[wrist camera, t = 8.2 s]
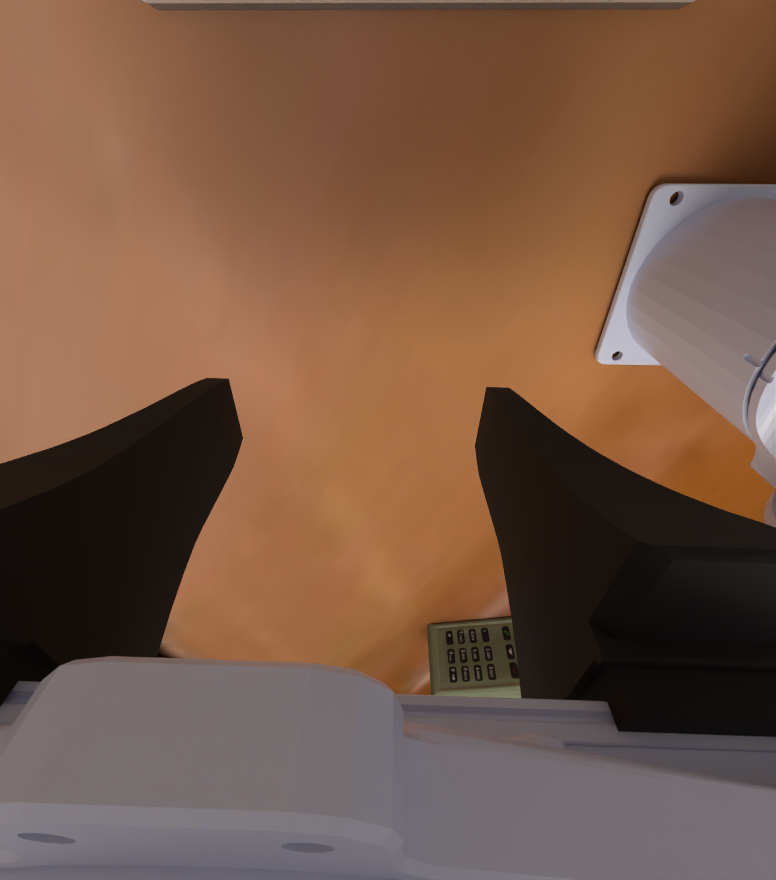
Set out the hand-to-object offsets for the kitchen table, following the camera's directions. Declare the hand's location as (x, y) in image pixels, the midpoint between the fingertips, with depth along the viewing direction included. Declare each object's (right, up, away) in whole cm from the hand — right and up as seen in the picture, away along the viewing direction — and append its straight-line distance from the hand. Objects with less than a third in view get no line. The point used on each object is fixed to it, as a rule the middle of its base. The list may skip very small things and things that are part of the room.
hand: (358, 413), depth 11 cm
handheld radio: (+17, -17, +26) cm, 35 cm away
